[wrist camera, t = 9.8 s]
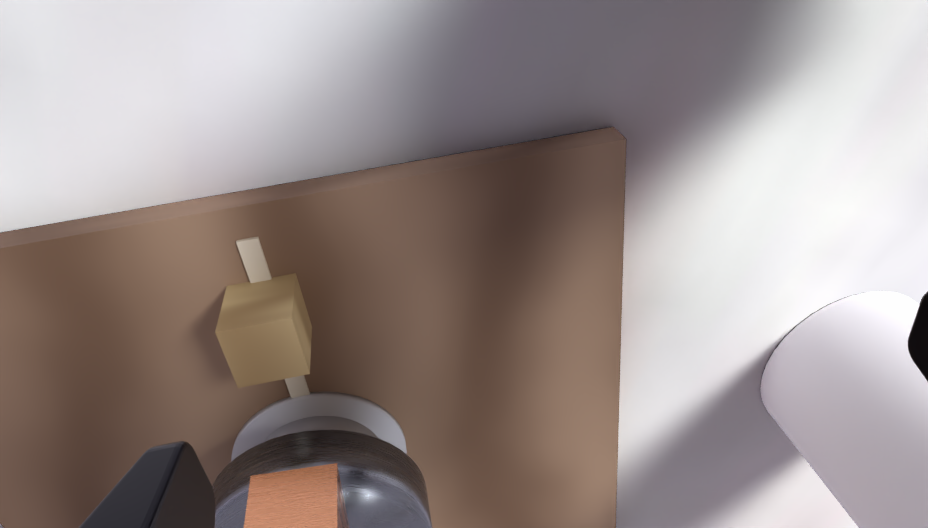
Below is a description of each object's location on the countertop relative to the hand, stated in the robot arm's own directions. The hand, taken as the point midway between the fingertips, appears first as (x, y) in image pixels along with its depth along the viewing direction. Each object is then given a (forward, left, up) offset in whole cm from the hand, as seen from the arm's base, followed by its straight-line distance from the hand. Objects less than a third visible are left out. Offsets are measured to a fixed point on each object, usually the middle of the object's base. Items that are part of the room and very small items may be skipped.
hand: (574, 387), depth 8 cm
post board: (+6, +12, -12) cm, 18 cm away
